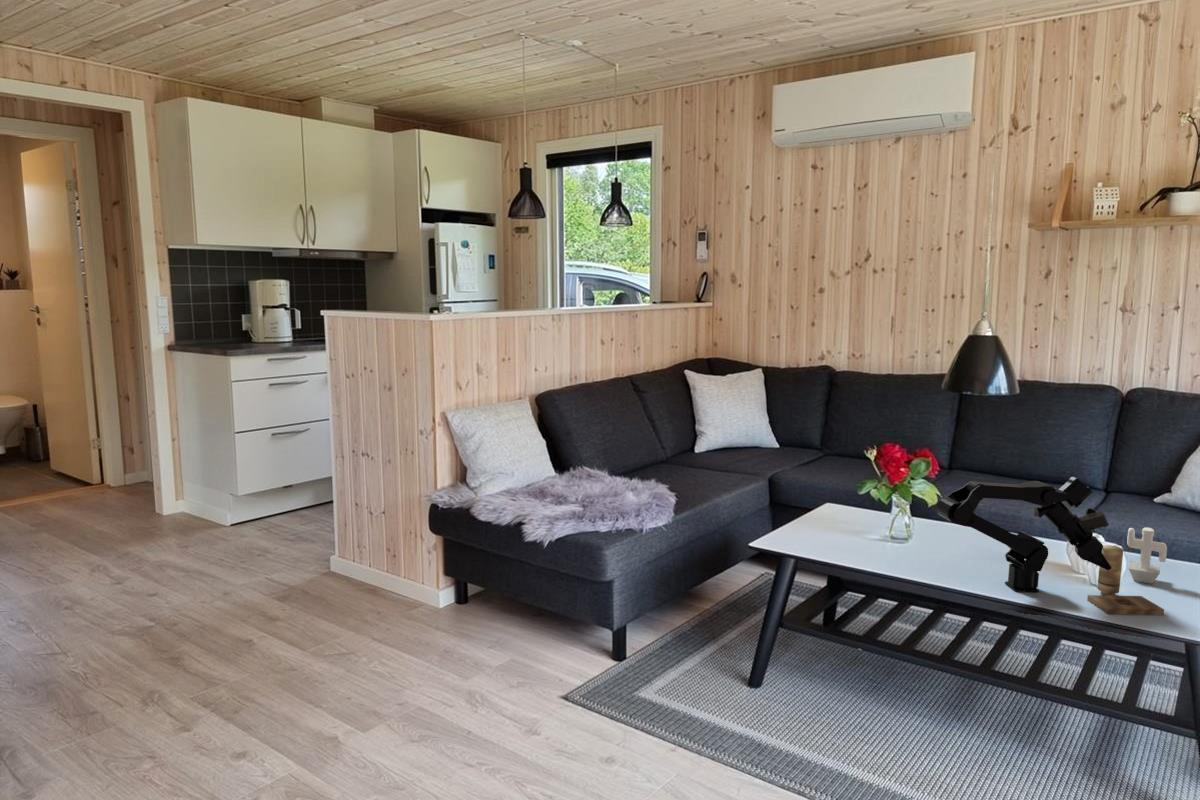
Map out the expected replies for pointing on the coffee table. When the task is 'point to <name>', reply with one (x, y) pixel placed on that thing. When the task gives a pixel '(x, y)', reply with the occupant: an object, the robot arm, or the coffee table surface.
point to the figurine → (1145, 555)
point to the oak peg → (1110, 571)
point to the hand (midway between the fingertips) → (1106, 563)
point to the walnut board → (1125, 605)
